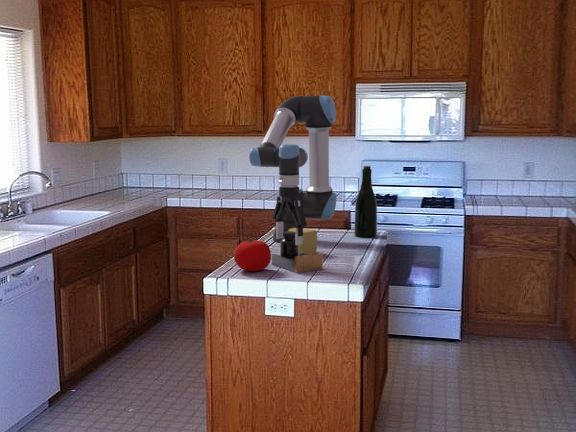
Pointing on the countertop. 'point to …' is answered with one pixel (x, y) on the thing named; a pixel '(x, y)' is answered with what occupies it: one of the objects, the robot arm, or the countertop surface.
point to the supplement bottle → (288, 245)
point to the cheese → (308, 241)
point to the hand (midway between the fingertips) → (289, 241)
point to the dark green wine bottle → (366, 207)
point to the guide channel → (299, 262)
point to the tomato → (252, 255)
